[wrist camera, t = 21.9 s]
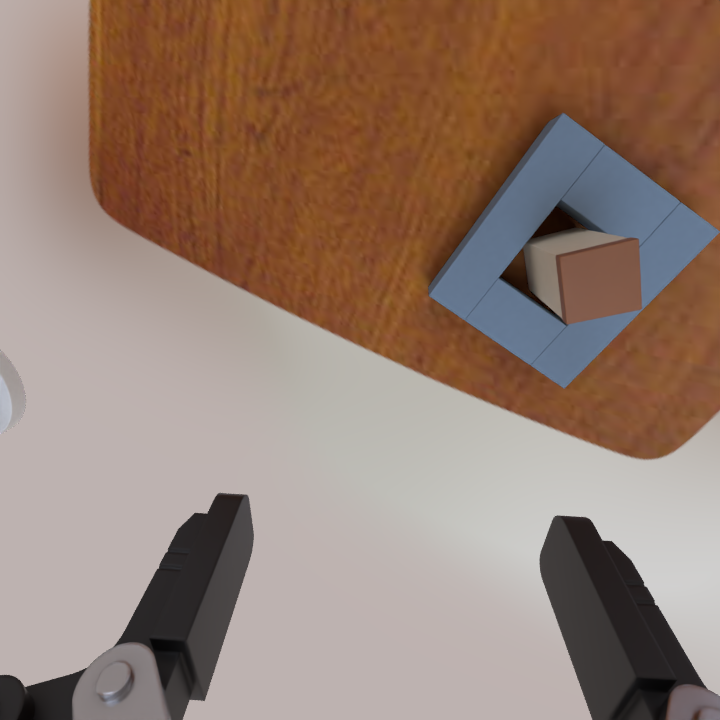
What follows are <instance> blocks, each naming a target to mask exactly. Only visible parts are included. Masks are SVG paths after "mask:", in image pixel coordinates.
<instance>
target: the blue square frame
mask: <svg viewBox="0 0 720 720" xmlns="http://www.w3.org/2000/svg"><path fill="white" fill-rule="evenodd" d="M555 206H557V207H559V208H560V209H561V210H563V211H564V212H565V213H567V214H568V215H569V216H571V217H572V218H574V219H575V220H576V221H578V222H579V223H580V224H582V225H583V226H584V227H586V228H587V229H589V230H591V231H596V232H601V233H606V234H611V235H616V236H621V237H626V238H630V237H632V238H637V239H639V252H640V273H641V295H642V309H641V310H637V311H632V312H627V313H622V314H617V315H612V316H607V317H602V318H597V319H592V320H587V321H582V322H577V323H573V324H566V323H565V322H564V321H563V320H562V318H561V317H560V316H559V315H557V314H555V315H554V314H553V313H551V312H550V311H548V310H547V309H545V308H544V307H543V306H541V305H540V304H538V303H537V302H536V301H534V300H533V299H531V298H530V297H528V296H527V295H526V294H524V293H523V292H521V291H520V290H518V289H517V288H516V287H514V286H513V285H511V284H510V283H508V282H507V281H506V280H504V279H503V278H501V277H500V275H501V274H502V273H503V271H504V270H505V269H506V268H507V266H508V265H509V264H510V263H511V261H512V260H513V259H514V258H515V256H516V255H517V254H518V253H519V251H520V250H521V249H522V248H523V246H524V245H525V244H526V243H527V241H528V240H529V239H530V238H531V236H532V235H533V234H534V233H535V231H536V230H537V229H538V228H539V226H540V225H541V224H542V223H543V221H544V220H545V219H546V217H547V216H548V215H549V214H550V212H551V211H552V210H553V209H554V207H555ZM718 233H719V231H718V230H717V229H716V228H715V227H713V226H712V225H711V224H709V223H708V222H707V221H705V220H704V219H703V218H701V217H700V216H699V215H697V214H696V213H695V212H693V211H692V210H691V209H689V208H688V207H687V206H686V205H684V204H683V203H681V202H680V201H679V200H678V199H676V198H675V197H674V196H672V195H671V194H670V193H668V192H667V191H666V190H664V189H663V188H662V187H660V186H659V185H658V184H657V183H655V182H654V181H653V180H651V179H650V178H649V177H647V176H646V175H645V174H643V173H642V172H641V171H639V170H638V169H637V168H635V167H634V166H633V165H631V164H630V163H629V162H628V161H626V160H625V159H624V158H622V157H621V156H620V155H618V154H617V153H616V152H614V151H613V150H612V149H610V148H609V147H608V146H606V145H604V143H603V142H601V141H600V140H599V139H597V138H596V137H595V136H593V135H592V134H591V133H589V132H588V131H587V130H585V129H584V128H583V127H581V126H580V125H579V124H578V123H576V122H575V121H574V120H572V119H571V118H570V117H568V116H567V115H566V114H564V113H562V114H561V115H559V116H557V117H556V118H554V119H552V120H551V121H549V122H548V123H547V125H546V126H545V127H544V129H543V130H542V131H541V133H540V134H539V136H538V137H537V138H536V140H535V141H534V142H533V144H532V145H531V147H530V148H529V149H528V151H527V152H526V153H525V155H524V156H523V158H522V159H521V160H520V162H519V163H518V164H517V166H516V167H515V169H514V170H513V171H512V173H511V174H510V175H509V177H508V178H507V180H506V181H505V182H504V184H503V185H502V186H501V188H500V189H499V191H498V192H497V193H496V195H495V196H494V197H493V199H492V200H491V202H490V203H489V204H488V206H487V207H486V208H485V210H484V211H483V213H482V214H481V215H480V217H479V218H478V219H477V221H476V222H475V224H474V225H473V226H472V228H471V229H470V230H469V232H468V233H467V234H466V236H465V237H464V239H463V240H462V241H461V243H460V244H459V245H458V247H457V248H456V250H455V251H454V252H453V254H452V255H451V256H450V258H449V259H448V261H447V262H446V263H445V265H444V266H443V267H442V269H441V270H440V272H439V273H438V274H437V276H436V277H435V278H434V280H433V281H432V283H431V284H430V285H429V287H428V289H429V296H430V297H431V298H433V299H434V300H436V301H437V302H439V303H440V304H441V305H443V306H444V307H446V308H447V309H449V310H450V311H452V312H453V313H455V314H456V315H458V316H459V317H460V318H462V319H463V320H465V321H466V322H468V323H469V324H471V325H472V326H474V327H475V328H476V329H478V330H479V331H481V332H482V333H484V334H485V335H487V336H488V337H490V338H491V339H493V340H494V341H495V342H497V343H498V344H500V345H501V346H503V347H504V348H506V349H507V350H509V351H510V352H512V353H513V354H514V355H516V356H517V357H519V358H520V359H522V360H523V361H525V362H526V363H528V364H529V365H531V366H532V367H534V368H535V369H536V370H538V371H539V372H541V373H542V374H544V375H545V376H547V377H548V378H550V379H551V380H553V381H554V382H555V383H557V384H558V385H560V386H561V387H563V388H565V387H566V386H567V385H568V384H569V383H570V382H571V381H572V380H573V379H574V378H575V377H576V376H577V375H578V374H579V373H580V372H581V371H582V370H583V369H584V368H585V367H586V366H587V365H588V364H589V363H590V362H591V361H592V360H593V359H594V358H595V357H596V356H597V355H598V354H599V353H600V352H601V351H602V350H603V349H604V348H605V347H606V346H607V345H608V344H609V343H610V342H611V341H612V340H613V339H614V338H615V337H616V336H617V335H618V334H619V333H620V332H621V331H622V330H623V329H624V328H625V327H626V326H627V325H628V324H629V323H630V322H631V321H632V320H633V319H634V318H635V317H636V316H637V315H638V314H639V313H640V312H641V311H642V310H643V309H644V308H645V307H646V306H647V305H648V304H649V303H650V302H651V301H652V300H653V299H654V298H655V297H656V296H657V295H658V294H659V293H660V292H661V291H662V290H663V289H664V288H665V287H666V286H667V285H668V284H669V283H670V282H671V281H672V280H673V279H674V278H675V277H676V276H677V275H678V274H679V273H680V272H681V271H682V270H683V269H684V268H685V267H686V266H687V265H688V264H689V263H690V262H691V261H692V259H693V258H694V257H695V256H696V255H697V254H698V253H699V252H700V251H701V250H702V249H703V248H704V247H705V246H706V245H707V244H708V243H709V242H710V241H711V240H712V239H713V238H714V237H715V236H716V235H717V234H718Z"/></svg>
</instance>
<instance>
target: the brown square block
mask: <svg viewBox="0 0 720 720" xmlns="http://www.w3.org/2000/svg"><path fill="white" fill-rule="evenodd" d="M523 250H524V258H525V265H526V272H527V280H528V287H529V290H530V291H531V292H532V293H534V294H535V295H536V296H537V297H538V298H539V299H540V300H542V301H543V302H544V303H545V304H546V305H547V306H548V307H549V308H551V309H552V310H553V311H554V312H555V313H556V314H557V315H559V316H560V317H561V318H562V320H563V321H564V322H565V323H566V324H573V323H577V322H582V321H587V320H592V319H597V318H602V317H607V316H612V315H617V314H622V313H627V312H632V311H637V310H641V309H642V295H641V273H640V252H639V239H637V238H632V237H630V238H626V237H621V236H616V235H611V234H606V233H601V232H596V231H591V230H586V229H581V228H572V229H568V230H564V231H560V232H556V233H552V234H548V235H544V236H540V237H536V238H532V239H529V240H528V241H527V243H526V244H525V245H524V246H523Z"/></svg>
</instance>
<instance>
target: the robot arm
mask: <svg viewBox="0 0 720 720" xmlns="http://www.w3.org/2000/svg"><path fill="white" fill-rule="evenodd" d="M253 540H254V534H253V525H252V518H251V510H250V504H249V498H248V496H247V495H242V494H226V493H219V494H217V496H216V497H215V499H214V501H213V503H212V505H211V507H210V509H209V511H208V514H203V513H194V514H193V515H192V516H191V517H190V518H189V519H188V521H186V522H185V523H184V524H183V525H182V526H181V527H180V528H179V529H178V531H177V533H176V535H175V537H174V539H173V540H172V542H171V544H170V546H169V548H168V552H167V553H166V554H165V555H164V557H163V559H162V561H161V563H160V566H159V569H157V571H156V572H155V574H154V576H153V578H152V580H151V582H150V584H149V586H148V588H147V590H146V591H145V593H144V595H143V597H142V599H141V601H140V603H139V605H138V607H137V608H136V610H135V612H134V614H133V616H132V618H131V620H130V622H129V624H128V626H127V628H126V629H125V631H124V633H123V635H122V636H121V638H120V639H119V641H118V642H117V643H116V645H115V646H114V647H113V648H111V649H109V650H108V651H106V652H104V653H103V654H102V655H100V656H99V657H98V658H97V659H95V660H94V661H93V662H92V663H91V664H90V666H89V667H88V668H85V669H83V670H81V671H79V672H76V673H73V674H70V675H67V676H63V677H60V678H56V679H52V680H49V681H45V682H42V683H38V684H35V685H31V686H27V687H24V685H23V684H22V683H21V681H20V680H18V679H17V678H16V677H14V676H10V675H0V720H183V717H184V714H185V711H186V708H187V705H188V702H189V700H201V701H202V700H203V701H205V698H206V695H207V692H208V689H209V686H210V682H211V679H212V676H213V673H214V670H215V667H216V663H217V661H218V657H219V654H220V651H221V648H222V645H223V642H224V639H225V636H226V632H227V629H228V626H229V623H230V620H231V617H232V614H233V611H234V608H235V604H236V601H237V598H238V595H239V592H240V589H241V586H242V583H243V579H244V576H245V573H246V570H247V567H248V564H249V561H250V557H251V553H252V547H253ZM540 571H541V576H542V580H543V582H544V585H545V588H546V591H547V594H548V596H549V599H550V602H551V605H552V608H553V610H554V613H555V616H556V619H557V621H558V624H559V627H560V630H561V632H562V636H563V638H564V641H565V644H566V647H567V650H568V652H569V655H570V658H571V661H572V664H573V666H574V669H575V672H576V675H577V678H578V680H579V683H580V686H581V689H582V691H583V694H584V697H585V700H586V703H587V706H588V708H589V711H590V714H591V717H592V720H720V696H718V695H717V694H715V693H714V692H712V691H710V690H708V689H707V688H706V686H705V685H704V684H703V682H702V681H701V679H700V677H699V676H698V674H697V672H696V671H695V669H694V667H693V666H692V664H691V662H690V660H689V659H688V657H687V655H686V654H685V652H684V650H683V649H682V647H681V645H680V643H679V642H678V640H677V638H676V636H675V635H674V633H673V631H672V630H671V628H670V626H669V625H668V623H667V621H666V619H665V618H664V616H663V614H662V613H661V611H660V609H659V607H658V606H657V605H655V603H654V599H653V597H652V595H651V594H650V592H649V590H648V588H647V587H645V586H644V582H643V580H642V578H641V577H640V575H639V573H638V571H637V570H636V568H635V566H634V565H633V563H632V561H631V560H630V559H629V558H628V557H627V556H626V555H625V554H624V553H623V552H622V551H621V550H620V549H619V548H618V547H617V546H616V545H615V544H614V543H613V542H612V541H602V539H601V537H600V535H599V534H598V532H597V530H596V528H595V526H594V525H593V523H592V522H591V520H590V519H588V518H586V517H571V516H555V517H554V518H553V520H552V523H551V526H550V528H549V531H548V534H547V537H546V539H545V542H544V545H543V548H542V550H541V554H540Z"/></svg>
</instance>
